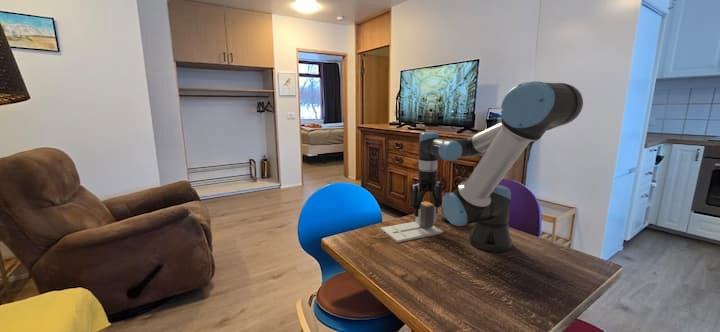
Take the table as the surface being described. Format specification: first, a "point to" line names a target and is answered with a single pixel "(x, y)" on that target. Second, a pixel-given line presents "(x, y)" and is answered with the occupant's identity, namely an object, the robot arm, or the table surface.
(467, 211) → the robot arm
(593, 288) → the table surface
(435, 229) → the fader console
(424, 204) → the lever
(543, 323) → the table surface
